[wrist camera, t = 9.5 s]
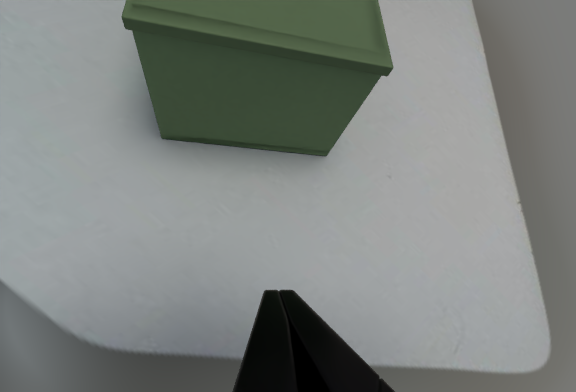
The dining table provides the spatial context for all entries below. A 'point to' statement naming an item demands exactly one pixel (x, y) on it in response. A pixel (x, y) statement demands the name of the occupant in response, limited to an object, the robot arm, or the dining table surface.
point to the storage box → (259, 68)
